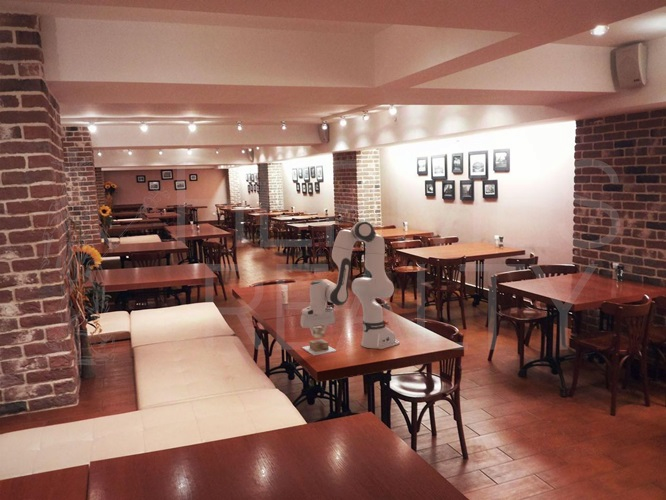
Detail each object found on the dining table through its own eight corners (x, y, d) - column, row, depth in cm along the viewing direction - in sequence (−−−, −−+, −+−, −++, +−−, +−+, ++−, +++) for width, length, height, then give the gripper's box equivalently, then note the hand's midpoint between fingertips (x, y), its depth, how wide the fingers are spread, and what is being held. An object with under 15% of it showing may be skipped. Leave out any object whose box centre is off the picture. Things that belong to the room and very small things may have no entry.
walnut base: (322, 345, 303) (322, 338, 303) (328, 349, 296) (328, 342, 296) (309, 347, 300) (309, 341, 299) (315, 351, 293) (315, 344, 292)
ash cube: (320, 334, 300) (320, 326, 300) (324, 336, 296) (324, 328, 295) (312, 336, 298) (312, 327, 298) (316, 338, 294) (316, 329, 293)
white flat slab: (323, 344, 308) (323, 343, 308) (336, 351, 294) (336, 350, 294) (301, 348, 302) (301, 347, 302) (313, 355, 288) (313, 354, 288)
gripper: (331, 306, 303) (332, 329, 304) (298, 310, 294) (299, 334, 295) (336, 308, 297) (337, 332, 299) (303, 312, 288) (304, 337, 290)
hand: (318, 333), depth 297 cm, fingers closed on ash cube, 5 cm apart
